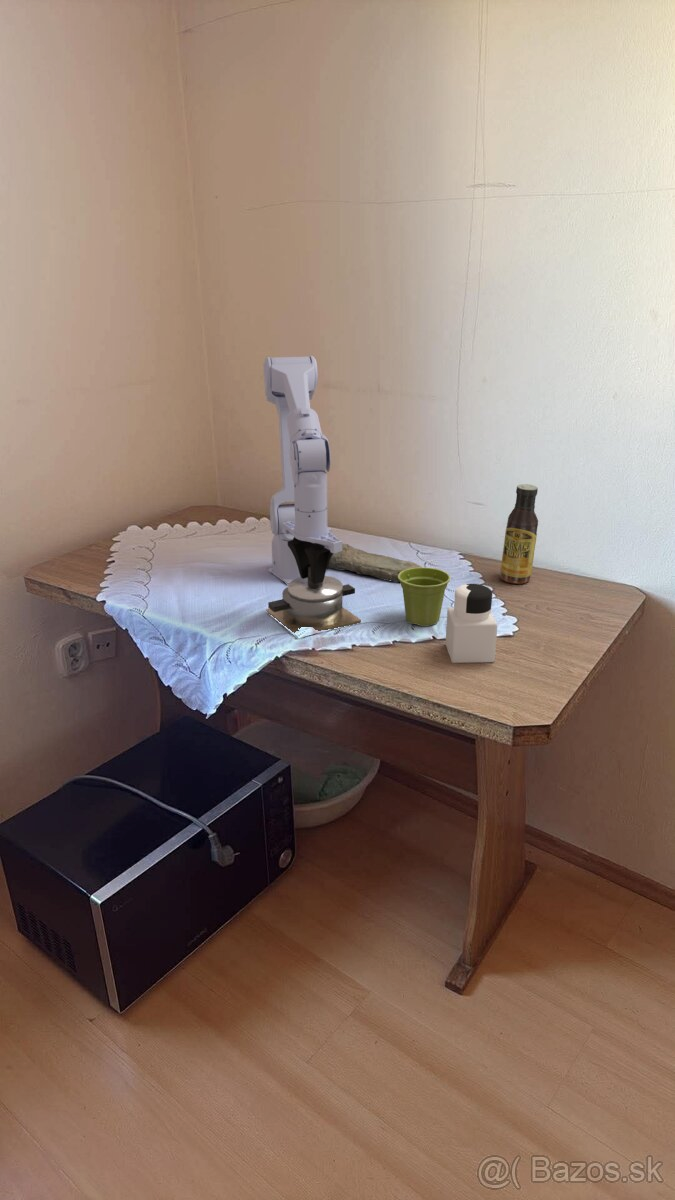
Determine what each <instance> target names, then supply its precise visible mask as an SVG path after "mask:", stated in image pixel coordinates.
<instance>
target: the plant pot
mask: <svg viewBox="0 0 675 1200" xmlns="http://www.w3.org/2000/svg"><path fill="white" fill-rule="evenodd" d="M398 579H399V581H400V586H401V588H402V595H403V597H402V598H403V605H404V614H405V619H406V622H408V623H409V622H410V624H411V625H414V624H415V625H418V626H419V627H428V626H433V625H436V624H437V623H438V622H439V621H440V617H441V613H442V607H443V602H444V598H445V597H444V596H445V591H446V589H447V588H448V584H449V583H450V582H451V575H450V574H449V573H448V572H447V571H444V570H442V569H439V568H434V567H427V566H426V567H425V566H424V567H422V566H421V567H417V568H409V569H406V570H404V571H401V572H400V573H399V574H398Z"/></svg>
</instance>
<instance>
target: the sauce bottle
mask: <svg viewBox="0 0 675 1200" xmlns="http://www.w3.org/2000/svg"><path fill="white" fill-rule="evenodd" d="M538 492H539V489H538V487H537V485H534V484H528V483H522V484H518V485H517V486H516V491H515V493H516V497H515V498H516V499H515V504H514V507H513V509H512V511H511V512H510V514H509V515H508V517H507V523H506V527H505V534H504V542H503V549H502V556H501V557H502V558H501V566H500V578H501V580H502V581H504V582H505V583H509V584H516V585H523V584H527V583H528V582H529V581H530V578H531V576H532V573H533V572H532V571H533V563H534V557H535V551H536V544H537V543H536V542H537V537H538V533H537V532H538V526H539V520H538V517H537V514H536V513H535V507H536V506H535V504H536V498H537V495H538Z"/></svg>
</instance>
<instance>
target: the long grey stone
mask: <svg viewBox="0 0 675 1200" xmlns="http://www.w3.org/2000/svg"><path fill="white" fill-rule="evenodd" d="M417 567H422V566H421V565H419V564H418V563H415V562H412V561H409V560H402V559H399V558H395V557H392V556H386V555H382V554H378V553H377V554H376V553H373V552H372V553H371V552H367V551H364V550H362V549H359V548H356V547H355V546H351V545H349V544H346V543H343V542H342V551H341V552H337V553H334V554H333V555H332V557H331V559H330V561H329V563H328V566H327V568H329V569H333V570H339V571H344V570H345V571H347V570H348V571H351V572H353V573H354V572H355V573H356V574H357V575H367V576H372V577H375V578H377V579H380V578H381V580H384V579H385V581H389V580H391V581H390V582H394V581H397V582H396V583H399V582H400V581H399V579H398V574H399V573H400V572H401V571H404V570H406V569H409V568H417Z"/></svg>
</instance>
